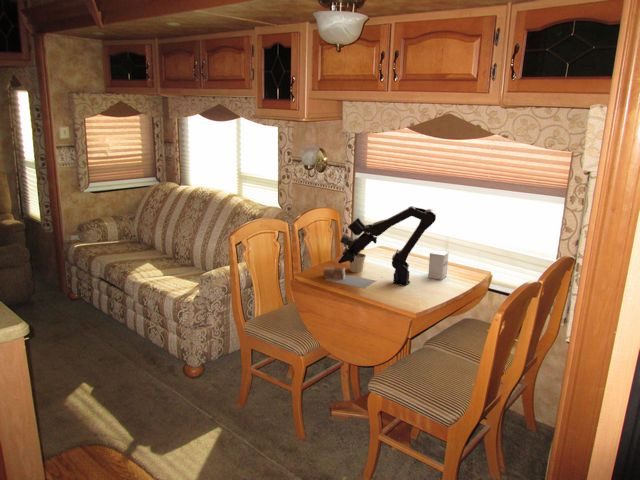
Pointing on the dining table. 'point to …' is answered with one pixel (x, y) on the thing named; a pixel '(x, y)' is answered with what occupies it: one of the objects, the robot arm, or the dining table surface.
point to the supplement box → (438, 265)
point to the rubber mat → (353, 281)
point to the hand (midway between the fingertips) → (338, 262)
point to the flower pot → (357, 263)
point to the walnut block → (334, 273)
